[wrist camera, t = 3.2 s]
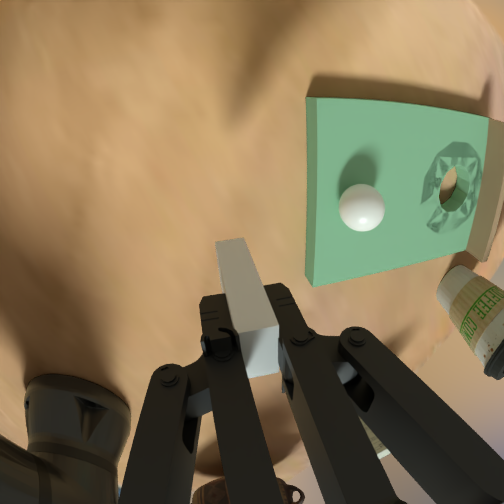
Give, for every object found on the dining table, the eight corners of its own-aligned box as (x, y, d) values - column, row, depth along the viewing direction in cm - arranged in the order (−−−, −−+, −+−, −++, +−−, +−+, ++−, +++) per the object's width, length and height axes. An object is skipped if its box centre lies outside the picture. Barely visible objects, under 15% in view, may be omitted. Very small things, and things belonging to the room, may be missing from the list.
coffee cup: (442, 255, 33) (524, 331, 20) (482, 251, 35) (553, 311, 22) (417, 317, 37) (479, 394, 25) (458, 306, 40) (516, 369, 27)
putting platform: (304, 275, 29) (326, 308, 25) (305, 97, 21) (336, 100, 17) (460, 240, 32) (486, 260, 28) (481, 115, 24) (514, 126, 20)
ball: (329, 222, 24) (350, 243, 21) (331, 179, 22) (355, 195, 19) (366, 217, 25) (390, 236, 22) (370, 176, 23) (397, 191, 20)
